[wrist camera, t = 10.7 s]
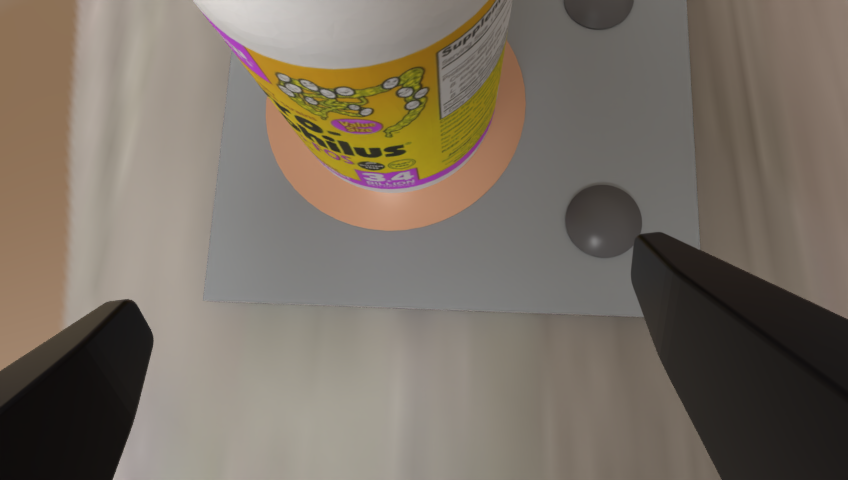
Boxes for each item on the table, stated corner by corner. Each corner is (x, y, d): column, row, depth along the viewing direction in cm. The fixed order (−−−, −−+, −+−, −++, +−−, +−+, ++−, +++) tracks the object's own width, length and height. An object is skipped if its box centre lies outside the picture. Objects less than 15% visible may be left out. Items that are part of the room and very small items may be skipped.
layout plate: (211, 301, 18) (201, 299, 18) (251, -60, 21) (244, -74, 20) (695, 319, 17) (705, 318, 16) (675, -65, 20) (683, -80, 19)
